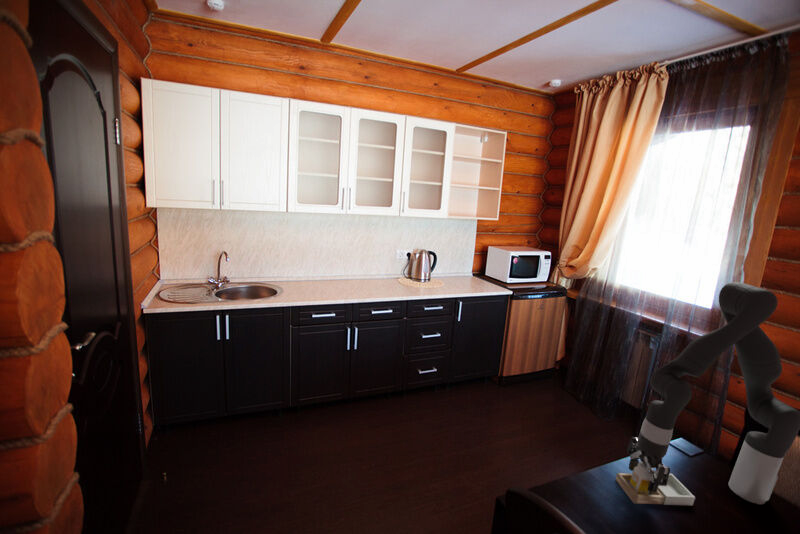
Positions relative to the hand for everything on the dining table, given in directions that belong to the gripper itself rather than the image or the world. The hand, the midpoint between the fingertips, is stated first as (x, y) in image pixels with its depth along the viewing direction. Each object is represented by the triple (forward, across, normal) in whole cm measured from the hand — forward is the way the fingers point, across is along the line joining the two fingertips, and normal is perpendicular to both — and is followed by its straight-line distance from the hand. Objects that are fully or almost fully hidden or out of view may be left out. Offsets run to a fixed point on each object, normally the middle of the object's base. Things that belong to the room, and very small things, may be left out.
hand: (641, 480), depth 117 cm
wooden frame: (+4, 0, 0) cm, 4 cm away
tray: (+4, 0, -10) cm, 11 cm away
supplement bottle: (+4, 0, 0) cm, 4 cm away
